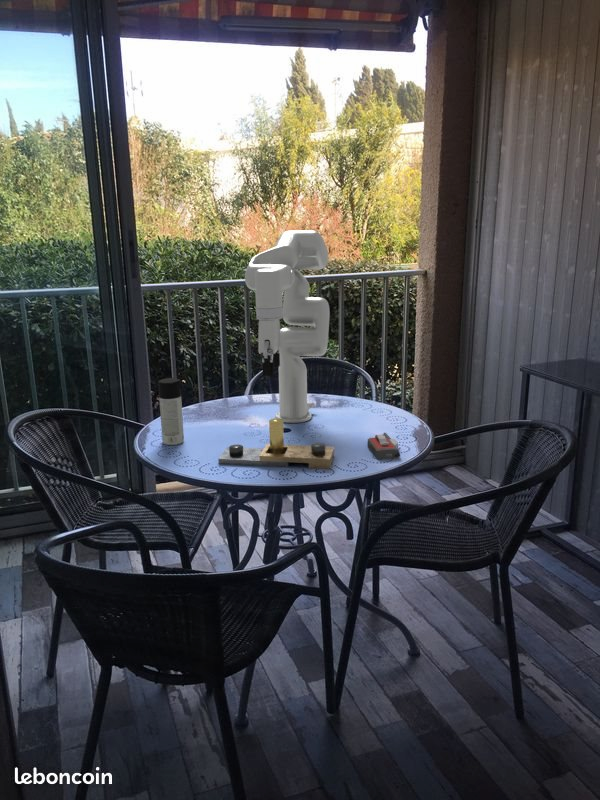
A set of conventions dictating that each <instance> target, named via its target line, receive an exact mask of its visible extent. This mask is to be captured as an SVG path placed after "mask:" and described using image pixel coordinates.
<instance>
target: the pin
mask: <svg viewBox="0 0 600 800" xmlns="http://www.w3.org/2000/svg"><path fill="white" fill-rule="evenodd" d="M268 422H269V423H268V425H269V444H270V454H284V445H285V443H284V442H285V441H284V440H285V439H284V433H285V432H284V422H283V419H280V418H275V417H274V418H270V419H269V420H268Z"/></svg>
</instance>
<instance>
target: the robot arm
mask: <svg viewBox="0 0 600 800" xmlns="http://www.w3.org/2000/svg"><path fill="white" fill-rule="evenodd" d="M328 261H329V250H328V248H327V245H326V242H325V240H324V238H323V236H322V235H321V234H320V232H319V231H316V230H313V229H312V230H311V229H310V230H309V229H307V230H306V229H304V230H294V229H293V230H285V231H284V232H282V233H281V234H280V236H279V237H278V239H277V240H276V243H275V245H274V247H272V248H270V249H267V250H265V251H262V252H260V253H258V254H256V255H255V256H253V257H252V258H251V260H250V261H249V263H248V265H247V266H246V270H245V273H244V282H245V285H246V287H247V288H248V289H249V290H251V291H254V292H255V312H256V320H258V353H259V354H260V355H262V360H261V361H262V363H261V365H262V375H263V376H264V377H273V376H275V367H278V391H279V392H278V396H279V397H278V398H279V403H278V404H279V406H278V407H279V411H278V412H276V413H275V415H274V418H280V419H283V423H287V424H290V423H291V424H296V423H297V424H298V423H305V422H307V421H310V420H311V419H312V415H313V414H312V412H310V411H309V410H310V409H312V408H315V406H316V404H315V402H313V401H311V402H308V381H307V380H308V376H307V374H308V370H307V366H306V363H305V362H304V360H303V359H302V358H301V357H322V356H324V355H325V354H326V352H327V350H328V344H329V342H328V341H329V330H330V328H329V327H330V314H331V312H330V305H329V302H328V300H327V299H326V298H324V297H320V296H319V297H318V296H317V297H314V296H313V297H312V296H311V297H310V287H311V286H310V282H309V281H308V280H307V278H306V277H305V276H304V274H303V273H301V271H300V270H315V271H316V270H317V271H318V270H323V269H325V268H326V267H327V265H328V263H329V262H328ZM283 292H284V293H283ZM281 319H283V321H284V322H285V324H287V325H290V326H288V327H287V326H286V327H282V328H281V324H280V323H281V321H280V320H281ZM295 326H296V327H295ZM299 326H300V327H299ZM301 326H302V327H301ZM303 326H304V327H303ZM305 326H312V327H305Z"/></svg>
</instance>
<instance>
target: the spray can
mask: <svg viewBox="0 0 600 800" xmlns="http://www.w3.org/2000/svg"><path fill="white" fill-rule="evenodd" d="M157 385H158V399H159V410H160V412H159V413H160V414H159V415H160V424H161V425H160V426H161V427H160V428H161V437H162V443H163V445H167V446H177V444H178V445H181V444H182V443H184V440H185V437H184V435H185V434H184V433H185V432H184V422H183V421H184V420H183V406H182V402H183V401H182V391H181V379H179V378H177V377H167V378H163V379H160V380H158V384H157Z"/></svg>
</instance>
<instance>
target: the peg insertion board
mask: <svg viewBox="0 0 600 800" xmlns="http://www.w3.org/2000/svg"><path fill="white" fill-rule="evenodd" d="M334 459H335V447H334V446H328V445H325V443H322V442H317V443H312V444H311V445H303V444H297V445H296V444H284V454H270V443H266V444H265V446H264V448H259V447H244V446H243V445H242V444H231V445H229V446H227V447H226V448H225V450H224V451H223V452H222V453H221V455H220V456H219V458H218V465H233V464H234V466H235V465H236V466H237V465H238V466H259V467H279V468H288V467H289V465H290V464H291V463H295V464H296V463H298V464H300V463H301V464H308V469H316V470H317V469H318V470H319V469H320V470H331V468H332V465H333V461H334Z"/></svg>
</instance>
